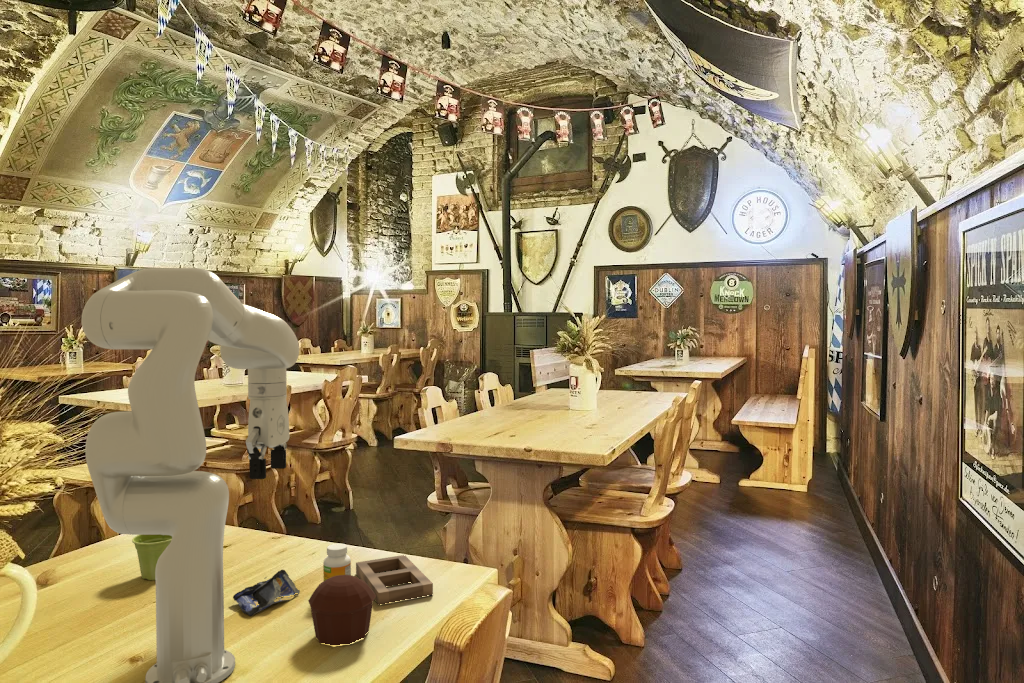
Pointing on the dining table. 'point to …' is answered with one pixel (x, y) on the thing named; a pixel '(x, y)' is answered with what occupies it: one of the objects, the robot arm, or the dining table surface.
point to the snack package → (265, 593)
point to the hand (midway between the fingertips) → (268, 473)
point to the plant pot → (150, 552)
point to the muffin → (341, 609)
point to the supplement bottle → (336, 561)
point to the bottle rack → (394, 579)
